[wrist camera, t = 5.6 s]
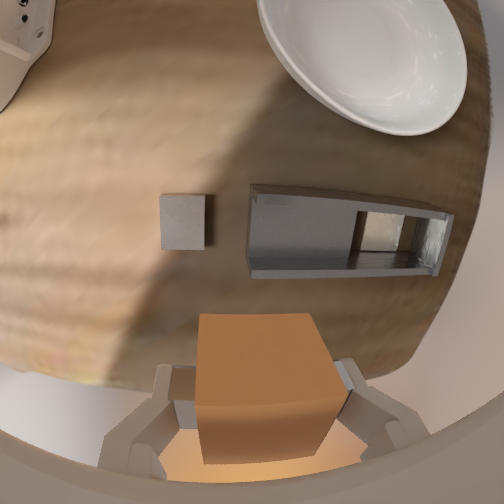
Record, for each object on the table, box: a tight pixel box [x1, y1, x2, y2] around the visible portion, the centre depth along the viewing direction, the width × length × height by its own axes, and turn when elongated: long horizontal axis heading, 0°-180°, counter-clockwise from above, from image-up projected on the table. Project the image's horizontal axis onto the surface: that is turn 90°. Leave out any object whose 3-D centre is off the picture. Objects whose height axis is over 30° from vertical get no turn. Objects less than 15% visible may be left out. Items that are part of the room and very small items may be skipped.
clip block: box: [195, 313, 348, 464], centre depth 9 cm, size 4×4×4 cm
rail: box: [246, 184, 454, 279], centre depth 25 cm, size 7×21×5 cm, turn 86°
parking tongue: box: [160, 194, 205, 250], centre depth 24 cm, size 5×4×1 cm
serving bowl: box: [257, 0, 467, 136], centre depth 16 cm, size 21×21×7 cm
